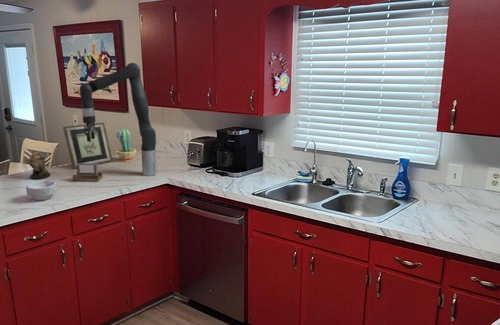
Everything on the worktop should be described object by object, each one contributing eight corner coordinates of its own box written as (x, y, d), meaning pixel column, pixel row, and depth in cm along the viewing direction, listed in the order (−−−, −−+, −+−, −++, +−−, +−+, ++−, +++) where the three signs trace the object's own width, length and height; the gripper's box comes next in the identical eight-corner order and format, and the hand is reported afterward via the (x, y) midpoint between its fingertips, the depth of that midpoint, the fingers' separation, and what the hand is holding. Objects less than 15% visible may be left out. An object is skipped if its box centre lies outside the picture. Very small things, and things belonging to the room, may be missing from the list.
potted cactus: (118, 158, 332) (117, 127, 327) (138, 158, 334) (136, 127, 328) (114, 162, 317) (112, 130, 312) (135, 162, 319) (133, 130, 313)
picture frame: (73, 169, 295) (69, 127, 289) (66, 167, 301) (62, 126, 294) (112, 161, 321) (110, 123, 314) (105, 160, 326) (102, 122, 320)
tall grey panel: (79, 176, 270) (78, 163, 268) (98, 176, 270) (97, 163, 268) (77, 178, 266) (76, 164, 264) (96, 178, 267) (95, 164, 265)
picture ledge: (78, 177, 273) (77, 171, 272) (102, 177, 274) (102, 171, 273) (72, 181, 263) (72, 175, 262) (98, 181, 264) (97, 175, 263)
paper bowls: (20, 200, 226) (19, 186, 224) (43, 192, 240) (42, 179, 238) (41, 203, 220) (40, 189, 219) (63, 196, 234) (62, 182, 233)
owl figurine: (47, 179, 268) (44, 154, 264) (27, 181, 265) (24, 155, 261) (52, 172, 285) (49, 148, 281) (33, 174, 282) (30, 149, 278)
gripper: (86, 114, 271) (88, 138, 275) (78, 116, 257) (81, 142, 261) (97, 113, 271) (100, 138, 275) (91, 116, 258) (93, 142, 261)
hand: (91, 140), depth 268 cm, fingers open, 8 cm apart
